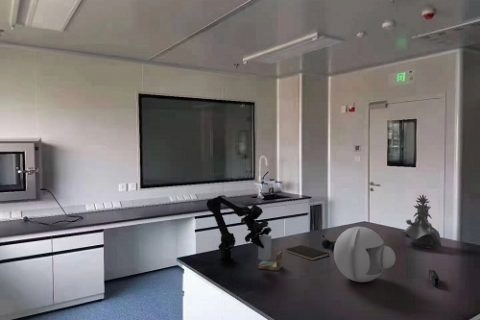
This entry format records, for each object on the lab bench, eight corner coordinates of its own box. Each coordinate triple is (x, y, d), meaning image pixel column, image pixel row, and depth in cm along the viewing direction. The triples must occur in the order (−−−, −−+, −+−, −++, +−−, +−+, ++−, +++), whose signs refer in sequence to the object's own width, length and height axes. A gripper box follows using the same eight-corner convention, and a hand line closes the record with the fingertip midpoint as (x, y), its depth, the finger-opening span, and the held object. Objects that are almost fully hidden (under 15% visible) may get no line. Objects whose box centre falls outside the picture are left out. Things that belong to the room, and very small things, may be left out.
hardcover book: (311, 261, 217) (311, 257, 217) (285, 252, 235) (285, 248, 235) (328, 256, 226) (328, 252, 226) (302, 248, 245) (302, 244, 245)
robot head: (390, 297, 163) (390, 237, 162) (326, 284, 179) (326, 230, 178) (399, 277, 187) (400, 225, 186) (342, 267, 203) (342, 219, 202)
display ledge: (258, 268, 204) (258, 252, 203) (262, 263, 211) (262, 248, 211) (278, 270, 199) (278, 254, 199) (282, 266, 207) (282, 250, 206)
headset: (317, 233, 243) (340, 233, 251) (316, 246, 243) (338, 246, 251) (329, 237, 231) (352, 237, 239) (328, 252, 231) (351, 251, 239)
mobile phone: (428, 268, 187) (434, 278, 173) (434, 269, 186) (441, 278, 172) (428, 278, 187) (434, 288, 173) (434, 278, 186) (441, 289, 172)
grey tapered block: (258, 259, 201) (258, 236, 200) (264, 256, 205) (264, 234, 204) (265, 261, 198) (265, 237, 197) (271, 258, 202) (271, 235, 201)
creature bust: (442, 244, 248) (443, 194, 246) (440, 253, 228) (441, 198, 227) (405, 239, 261) (405, 192, 259) (400, 247, 241) (400, 196, 240)
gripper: (248, 218, 196) (264, 242, 189) (269, 213, 210) (284, 235, 203) (238, 230, 201) (253, 253, 195) (258, 224, 215) (273, 246, 209)
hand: (266, 246), depth 200 cm, fingers closed on grey tapered block, 5 cm apart
